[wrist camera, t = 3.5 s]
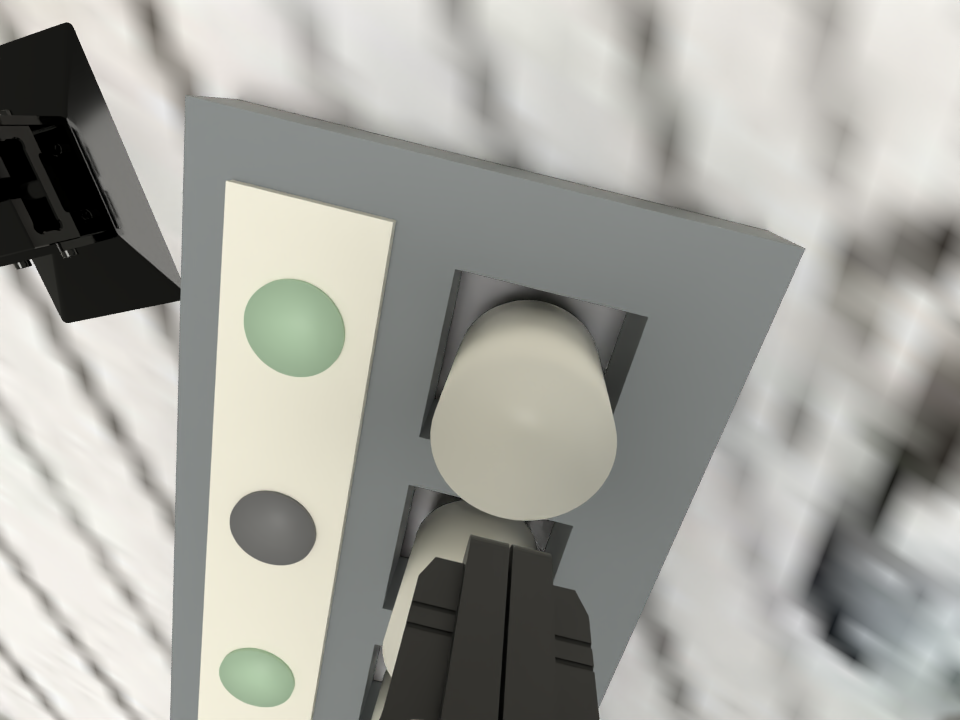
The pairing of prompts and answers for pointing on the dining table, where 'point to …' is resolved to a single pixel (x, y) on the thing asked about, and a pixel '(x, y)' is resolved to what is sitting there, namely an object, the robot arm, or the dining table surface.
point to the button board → (420, 350)
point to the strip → (284, 441)
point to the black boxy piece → (73, 186)
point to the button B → (446, 555)
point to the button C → (525, 414)
